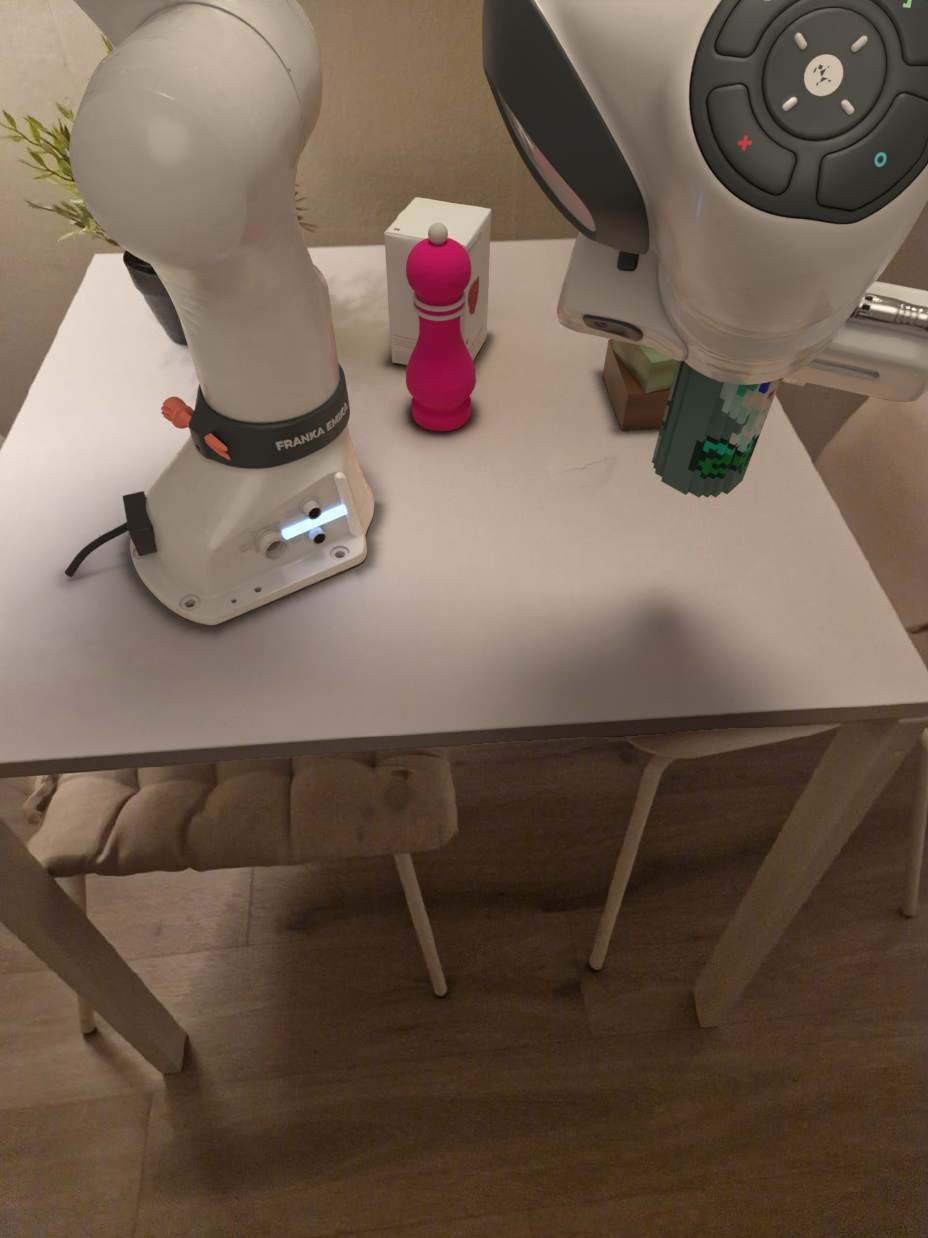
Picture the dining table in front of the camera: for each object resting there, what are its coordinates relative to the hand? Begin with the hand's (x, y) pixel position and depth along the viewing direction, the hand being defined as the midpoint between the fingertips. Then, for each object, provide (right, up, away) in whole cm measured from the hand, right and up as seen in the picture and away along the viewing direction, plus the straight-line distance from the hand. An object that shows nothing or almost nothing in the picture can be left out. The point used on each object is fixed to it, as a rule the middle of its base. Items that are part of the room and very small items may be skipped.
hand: (731, 357), depth 50 cm
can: (0, -6, +6) cm, 9 cm away
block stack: (+4, +7, +37) cm, 38 cm away
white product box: (-20, +15, +43) cm, 49 cm away
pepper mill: (-19, +5, +35) cm, 40 cm away
